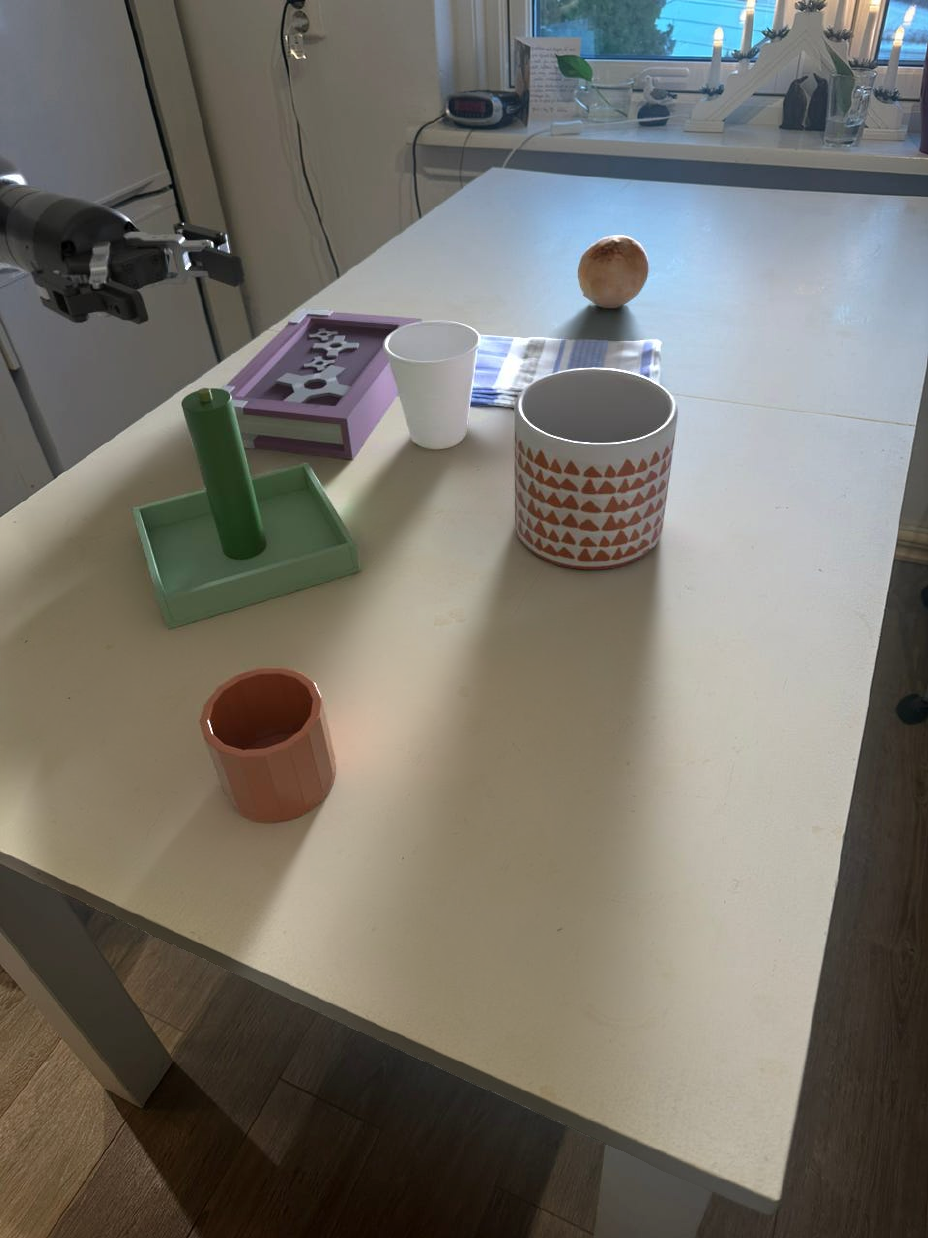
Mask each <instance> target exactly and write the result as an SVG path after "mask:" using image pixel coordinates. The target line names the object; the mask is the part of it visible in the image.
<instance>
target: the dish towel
mask: <svg viewBox="0 0 928 1238" xmlns="http://www.w3.org/2000/svg"><path fill="white" fill-rule="evenodd" d="M479 336H480V338H481V343H480V345H479V347H478V350H477V358H476V365H475V373H474V379H473V386H472V394H471V402H470V406H489V407H490V406H491V407H493V406H494V407H496V406H499V407H505V408H513V409H514V406H515V401H516V399H517V397H518V395H519V394H520V393H521V392H522V390H523V389H524V388H526V387H527V386H528V385H529V384H531V383H533V382H534V381H536V380H538V379H540V378H543V377H545V376H548V375H551V374H554V373H558V372H562V371H567V370H574V369H585V368H603V369H614V370H621V371H626V372H630V373H634V374H637V375H640V376H643V377H646V378H648V379H650V380H652V381H654V382H656V383H657V384H659V385H661V367H662V345H663V344H662V341H660V340H659V339H643V340H633V341H631V340H617V341H612V340H604V339H599V340H598V339H579V338H577V339H564V338H550V337H537V336H536V337H535V336H534V337H527V338H522V337H513V336H499V335H489V334H487V335H486V334H479Z"/></svg>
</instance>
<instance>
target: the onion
mask: <svg viewBox="0 0 928 1238" xmlns="http://www.w3.org/2000/svg"><path fill="white" fill-rule="evenodd" d="M578 263H579V264H578V267H577V280H578V284H579V288H580V290H581V292H582V296H583V297H584V298H586V299H587V300H588V301H589V302H591V303H593V304H594V305H595V306H597V307H600V308H604V309H617V308H618V309H619V308H620V307H622V306H624V305H626V304H628V303H630V302H631V301H632V300H634V299H635V298H636V297H637V296H638V295H639V294H640V292H641V291H642V289H643V288H644V286H645V284H646V282H647V280H648V277H649V271H650V270H649V269H650V266H649V265H650V264H649V258H648V255H647V253H646V250H645V249H644V247H643V246H642V243H640V242H639V241H637V240H636V239H634V238H632V237H630V236H626V235H622V234H615V235H610V236H606V237H601V238H600V239H599V240H596V241H595V242H594V243H592V244H590V246H589V247H588V248H587V249H586V250H585V251H584V252H583V254H582V255H581V258H580V260H579V262H578Z"/></svg>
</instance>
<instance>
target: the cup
mask: <svg viewBox="0 0 928 1238" xmlns="http://www.w3.org/2000/svg"><path fill="white" fill-rule="evenodd" d="M479 335H480V334H479V332H478V331H476V329H474V328H472V327H471V326H469V325H466V324H463V323H459V322H456V321H448V320H425V321H422V322H419V323H414V324H410V325H406V326H403V327H401V328H399V329H397V330H395V331H393V332H392V333H390V334H389V335H388V336H387V337H386V339H385V340H384V343H383V348H384V351H385V352H386V354H387V355H388V358H389V362H390V366H391V369H392V373H393V376H394V380H395V383H396V386H397V390H398V397H399V400H400V404H401V407H402V411H403V414H404V419H405V422H406V425H407V428H408V432H409V436H410V439H411V440H412V442H414V443H415V444H416V445H418V446H419V447H422V448H423V449H428V450H445V449H450V448H452V447H455V446H456V445H458V444H459V443H461V442H462V441H463V440H464V439H465V438H466V436H467V433H468V425H469V418H470V417H469V416H470V410H471V409H470V408H471V405H470V402H471V394H472V386H473V379H474V373H475V365H476V358H477V350H478V347H479V345H480V343H481V338H480V336H479Z"/></svg>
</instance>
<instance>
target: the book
mask: <svg viewBox="0 0 928 1238" xmlns="http://www.w3.org/2000/svg"><path fill="white" fill-rule="evenodd" d="M419 322H423V318H414V317H404V316H391V315H390V316H388V315H376V314H363V313H350V312H336V311H334V310H327V309H326V310H325V309H313V308H312V309H311V308H300V309H299V311H297V312H296V313H295V315H293V317H291V318H290V319H289V320H288V321H287V324H286V325H285V326H284V327H283V328H282V329H281V330H280V331H279V332H278V333H277V334H276V335H275V336H274V337H273V338H272V339H271V340H270V341H269V342H268V343H267V344H266V345H265V346H264V347H263V348H262V349H261V350H260V351H259V352H258V353H257V354H256V355H255V356H254V357H253V358H252V359H251V360H250V361H249V362H248V363H247V364H246V365H245V366H244V367H242V368H241V370H240V371H239V372H237V374H236V375H234V377H232V379H230V381H229V382H227V384H226V385H222V387H220V388H219V389H223V390H226V391H228V392H229V393H230V394H231V398H232V402H233V406H234V410H235V414H236V418H237V423H238V427H239V431H240V435H241V439H242V443H243V447H244V449H253V450H254V449H262V450H269V451H276V452H277V451H279V452H286V453H295V454H302V455H303V454H304V455H312V456H320V457H329V458H337V459H344V460H345V459H346V460H354V459H355V457H356V456H357V454H358V453H359V452H360V450H361V448H362V447H363V445H364V444H365V443H366V441H367V440H368V438H369V437H370V436H371V434H372V433H373V431H374V430H375V428H376V427H377V426H378V424H379V423H380V421H382V418H383V417H384V415H385V414H386V412H387V411H388V410H389V408H390V407H391V406H392V404H393V403H394V401H395V400H396V398H397V397H398V396H399V394H398V390H397V386H396V383H395V380H394V376H393V373H392V369H391V366H390V362H389V358H388V355H387V354H386V352H385V351H384V348H383V343H384V340H385V339H386V337H387V336H388V335H389V334H390V333H392V332H393V331H395V330H397V329H399V328H401V327H403V326H406V325H410V324H414V323H419Z"/></svg>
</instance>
